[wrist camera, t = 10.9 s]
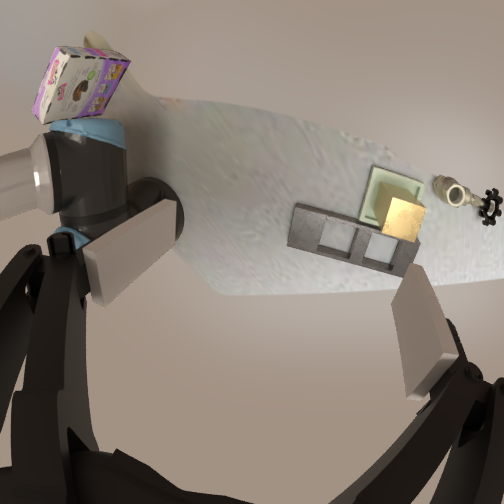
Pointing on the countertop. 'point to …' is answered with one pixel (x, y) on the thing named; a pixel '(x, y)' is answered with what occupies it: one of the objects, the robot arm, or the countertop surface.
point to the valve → (467, 198)
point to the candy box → (78, 83)
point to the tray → (373, 187)
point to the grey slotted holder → (310, 229)
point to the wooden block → (398, 212)
